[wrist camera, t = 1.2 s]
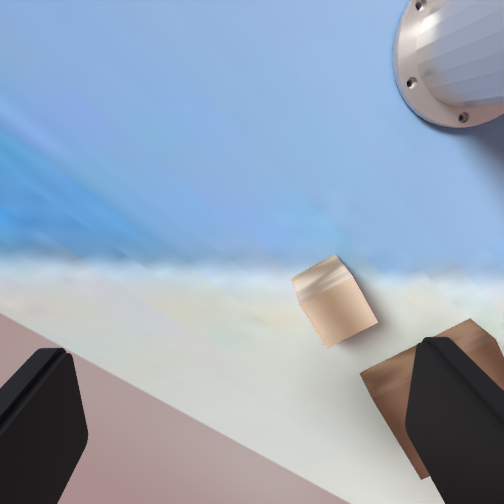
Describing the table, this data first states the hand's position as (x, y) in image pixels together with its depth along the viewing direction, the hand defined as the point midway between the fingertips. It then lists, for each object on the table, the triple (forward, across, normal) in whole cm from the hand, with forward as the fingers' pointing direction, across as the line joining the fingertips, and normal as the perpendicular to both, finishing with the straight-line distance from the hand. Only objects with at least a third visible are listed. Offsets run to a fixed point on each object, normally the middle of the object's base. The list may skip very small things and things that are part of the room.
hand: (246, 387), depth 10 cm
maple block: (+25, -8, +8) cm, 27 cm away
